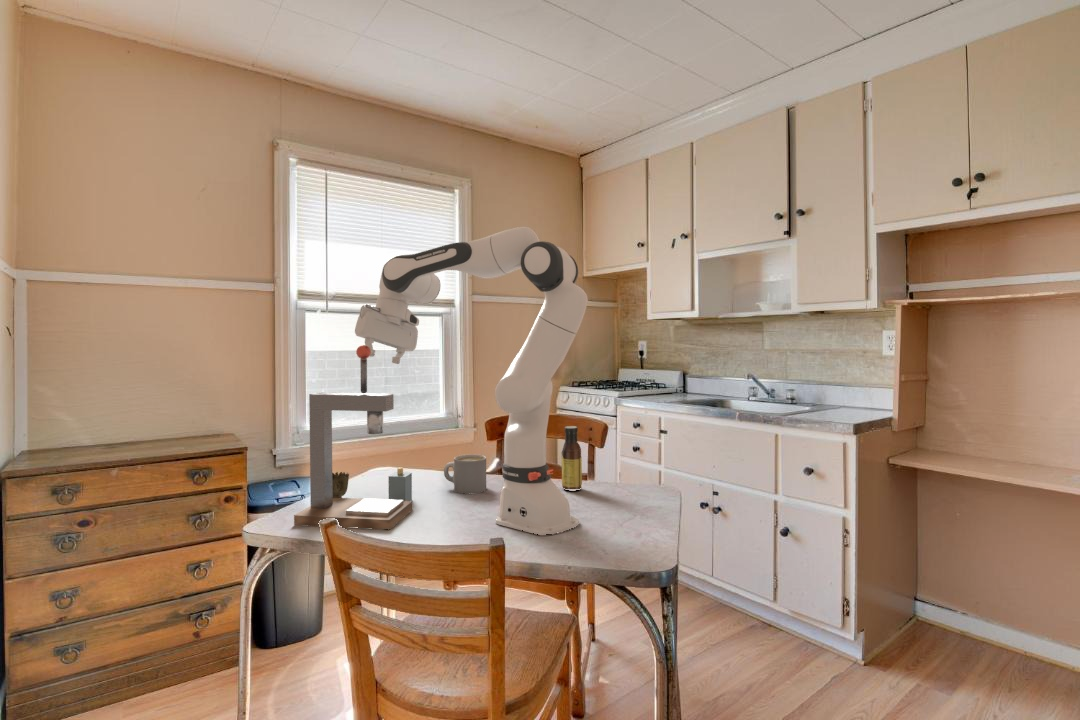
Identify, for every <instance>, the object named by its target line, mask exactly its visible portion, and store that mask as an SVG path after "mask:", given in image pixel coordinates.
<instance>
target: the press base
mask: <svg viewBox="0 0 1080 720" xmlns="http://www.w3.org/2000/svg"><path fill="white" fill-rule="evenodd" d="M363 499H364V498H352V497H351V498H349V497H342V498H333V505H331V506H329V507H328V508H326V509H315V508H311V505H310V506H309V507H307V508H305V509H303V510H301V511H299V512H298V513H296V514H294V515H293V520H294V521H293V525H294V526H300V525H308V526H307V527H320V526H319V524H318V523H319V521H320V520H323V519H326V518H335V519H337V520H338V522H339V525H340V526H342V527H344V529H349V528H348V527H358V528H357V529H359V528H372V529H371V530H378V529H388V530H387V531H390V530H391V529H392V528H394V527H395V526H396V525H397V524H398V523H399V522H401V521H402V520H403V519H404V518H405V517H406V516H407V515H409V514H410V513H411V512H412V511H413V501H412V500H411V501H404V504H403V505H401V506H400V507H399V508H398V509H396V510H395V511H394V512H393V513H391V514H390V515H389V516H366V515H346V510H348V509H349V508H351V507H352V506H354V505H355V504H357V503H358V502H360V501H361V500H363ZM409 512H410V513H409ZM408 513H409V514H408ZM404 516H405V517H404ZM403 517H404V518H403ZM402 518H403V519H402ZM401 519H402V520H401ZM397 522H398V523H397ZM396 523H397V524H396ZM395 524H396V525H395ZM394 525H395V526H394ZM389 529H390V530H389Z"/></svg>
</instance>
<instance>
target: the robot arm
mask: <svg viewBox="0 0 1080 720" xmlns="http://www.w3.org/2000/svg"><path fill="white" fill-rule="evenodd" d="M519 270H522V271H521V272H523V275H524V276H525V277H526V278H527V279H528V281H529V282H530V283H531V284H533V286H535V288H537V290H538V291H540V292H541V293H544V300H543V304H542V306H541V308H540V310H539V311H538V315H537V316H536V319H535V320H534V323H533V324H532V327H531V329H530V331H529V333H528V335H527V336H526V339H525V341H524V343H523V344H522V346H521V348H520V350H519V351H518V352H517V354H516V355H515V357H514V358H513V360H512V362H511V363H510V365H509V366H508V368H507V369H506V372H505V374H504V375H503V376H502V378H500V379H499V381H498V383H497V385H496V386H495V390H494V399H495V401H496V404H497V405H498V406H499V408H500V409H501V410H503V411H504V412H506V413H509V415H508V421H507V425H506V429H505V431H504V445H503V446H504V448H503V449H504V450H503V452H504V453H503V454H504V456H503V457H504V459H503V461H504V462H503V463H502V469H501V472H502V478H503V483H502V487H501V490H500V498H499V507H498V515H497V517H496V519H495V524H497V525H500V526H504V527H506V528H510V529H515V530H518V531H522V530H523V531H522V532H526V533H530V534H533V533H534V535H537V534H538V535H537V536H547V535H546V534H552V535H554V534H553V533H557V532H561V533H563V532H562V531H565V530H568V529H570V530H572V529H571V528H573V527H575V526H577V525H578V524H579V525H580V519H578V518H577V517H575V516H573V515H571V508H570V502H569V499H568V498H567V497H566V496H565V494H564V493H563V492H562V491H561V490H560V489H559V488H558V486H557V485H556V484H555V483H554V482H553V481H552V479H551V478H552V475H553V474H554V472H553V471H554V469H549V468H550V467H549V464H548V463H547V432H548V430H547V429H548V424H549V418H550V417H549V416H550V411H551V410H550V409H551V403H552V402H551V401H552V394H553V389H554V388H553V381H552V380H551V379H552V378H553V376H554V375H555V374H556V372H557V371H558V369H559V367H560V366H561V364H562V363H563V362H564V360H565V358H566V356H567V354H568V352H569V350H570V348H571V346H572V344H573V342H574V340H575V338H576V335H577V333H578V331H579V328H580V327H581V324H582V322H583V319H584V316H585V313H586V310H587V307H588V298H589V297H588V295H587V293H586V292H585V290H584V289H583V288H582V287H580V286H579V285H577V284H576V282H577V280H578V277H579V267H578V264H577V262H576V260H575V258H573V256H572V255H570V254H569V253H568V252H567V251H566V250H564V248H562V247H561V246H558V245H556V244H554V243H551V242H549V241H541V240H540V238H539V237H538V235H537V233H536V232H535V230H533V229H532V228H531V227H528V226H518V227H514V228H509V229H505V230H502V231H499V232H496V233H492V234H491V235H487V236H485V237H481V238H479V239H474V240H470V241H469V240H467V241H460V242H453V243H452V242H451V243H448V244H445V245H441V246H437V247H434V248H430V249H428V250H427V249H426V250H423V251H421V252H417V253H412V254H409V253H408V254H407V253H406V254H405V253H399V254H395V255H393V256H391V257H390V258H389V259H387V260H386V262H385V264H384V265H383V267H382V271H381V275H380V280H379V285H378V286H379V292H378V293H379V294H378V296H377V298H376V302H375V303H376V304H375V306H373V305H371V304H369V303H366V304H363V305H362V306H361V307H360V310H359V315H358V316H357V320H356V324H355V328H354V334H355V336H357V337H359V338H362V339H364V345H366V346H368V347H369V348H370V350H371V354H370V356H369V357H370V358H371V357H375V353H376V350H375V349H374V348H373V344H374V343H378V344H380V345H381V344H382V345H385V346H387V347H389V348H390V347H391V348H394V349H395V351H396V355H395V356H392V359H391V363H392V364H396V365H400V363H401V358H402V357H403V355H405V352H413V351H415V349H416V348H417V345H418V344H417V343H418V338H419V336H418V334H419V331H418V328H417V326H419V325H420V319H419V318H418V317H417V316H416V315H415V314H414V313H413V312H412V311H411V310H410V309H409V303H410V302H414V303H417V304H423V305H425V304H431V303H433V302H434V301H435V300H436V298H437V297H438V296H439V294H440V291H441V281H440V278H439V276H437V275H436V274H438V273H440V272H444V271H458V272H463V273H465V274H468V275H472V276H475V277H477V278H479V279H483V280H484V279H496V278H500V277H502V276H503V277H504V276H505V275H508V274H511V273H513V272H516V271H519ZM579 525H578V526H579ZM578 526H577V527H578ZM575 528H576V527H575ZM573 529H574V528H573ZM568 531H569V530H568ZM565 532H566V531H565ZM557 534H558V533H557Z"/></svg>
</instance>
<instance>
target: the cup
mask: <svg viewBox="0 0 1080 720" xmlns="http://www.w3.org/2000/svg"><path fill="white" fill-rule="evenodd" d="M349 477H350V473H349V472H345V471H341V472H339V473H338V471H336V472H335V473H334V472H332V489H333V498H343V496H345V495H346V493H347V491H348V487H349V480H350V478H349Z"/></svg>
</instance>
